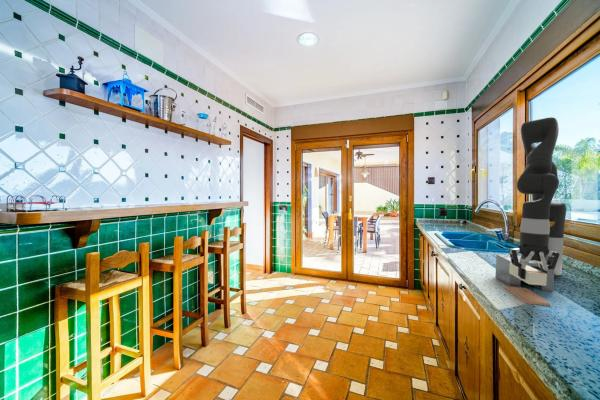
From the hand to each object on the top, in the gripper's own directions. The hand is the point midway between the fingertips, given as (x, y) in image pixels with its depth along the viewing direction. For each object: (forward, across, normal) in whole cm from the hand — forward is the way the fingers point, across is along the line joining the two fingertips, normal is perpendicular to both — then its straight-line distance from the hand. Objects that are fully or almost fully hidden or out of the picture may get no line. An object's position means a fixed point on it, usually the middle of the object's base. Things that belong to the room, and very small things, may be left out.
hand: (531, 279), depth 90 cm
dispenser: (+7, -6, -18) cm, 20 cm away
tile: (+7, 0, -3) cm, 8 cm away
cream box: (+1, 0, -3) cm, 3 cm away
